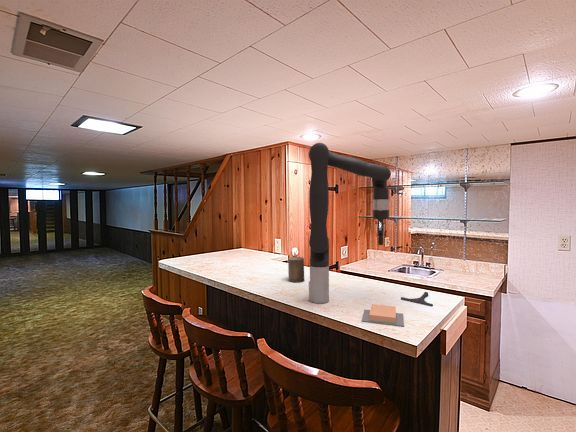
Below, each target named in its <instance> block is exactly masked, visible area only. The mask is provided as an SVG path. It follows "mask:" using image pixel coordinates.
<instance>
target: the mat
mask: <svg viewBox="0 0 576 432" xmlns="http://www.w3.org/2000/svg"><path fill="white" fill-rule="evenodd" d="M369 314H370V309H363V314H362V317H361V323H371V324H377V325H378V324H379V325H387V326H392V327H393V326H394V327H401V328H404V327H405V321H404V313H401V312H396V324H391V323H383V322H374V321H369Z"/></svg>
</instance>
